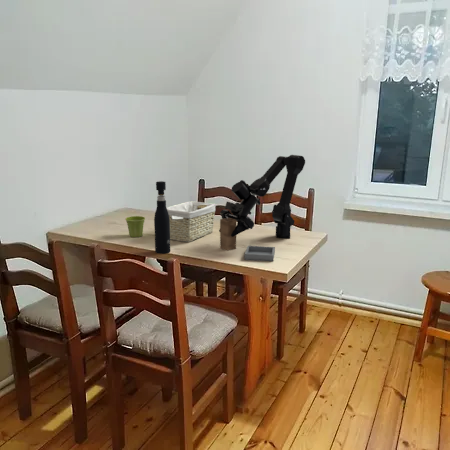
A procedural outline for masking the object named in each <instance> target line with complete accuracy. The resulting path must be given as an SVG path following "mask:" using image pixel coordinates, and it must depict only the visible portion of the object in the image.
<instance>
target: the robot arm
mask: <svg viewBox="0 0 450 450" xmlns="http://www.w3.org/2000/svg"><path fill="white" fill-rule="evenodd" d="M305 165H306V159H305V157H304V156H303V155H298V154H290V155H289V156H281V155H278V157H276V159H275V161H274V162H273V164H271V166H270V167H269V168H267V170H266V172H265V173H264V174H263V175H262V176H261V177H259V178H257V179H255V180H254V181H253V182H252V183H251V184H250V185H248V184H247V183H246V181H245V180H243V179H242V180H239V181H238V182H236V183H235V184H233V185H232V186H231V192H232V193H233V194H234V195H235V196H236V197H237V198H238V199H239V200H241V201H240V202H230V201H226V203H225V205H224V209H221V211H220V212H219V214H220V217H221V219H224V218H232V219H235V220H236V227H235V229H234V231H233V232H232V234H231V236H232V237H234V236H235V235H236V236H237V235H239V234H241V233H242V232H245V231H248V230H252V229H253V228H254V227H255V222H254V221H253V220H252V219H251V218H250V217H249V215H251V214H252V212H251V211H252V210H253V209H254V207H255V205H259V206H260V205H261V198H258V197H265V196H267V194H268V192H269V190H270V188H271V184H272V183H273V181H274V180H275V178H276V177H278V175H279V174H280V173H281V172H282V170H283V169H284V168H286V178H285V180H284V184H283V188H282V190H281V191H282V192H281V194H280V199H279V202H278V203H277V204H274V205H273V209H272V211H271V217H272V219H273V222H274V223H275V224H276V225H277V226H275V236H276V238H277V239H291V227H292V226H294V225H295V220H294V218H293V217H292V216H291V215H292V209H291V201H292V197H293V193H294V191H295V186H296V182H297V179H298V175H299V174H300V173H302V171H303V170H304V168H305ZM218 231H219V233H220V229H218Z"/></svg>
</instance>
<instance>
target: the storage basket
mask: <svg viewBox="0 0 450 450" xmlns="http://www.w3.org/2000/svg"><path fill="white" fill-rule="evenodd" d="M166 208H167V211H168V214H169V218H170V240H173V241H179V242H184V243H185V242H187V243H191V242H192V241H195V240H197V239H199V238H201V237H202V238H203V237H206V236H207V235H210V234H212V233H213V232H214V223H215V213H216V203H210V202H201V201H194V200H193V201H191V200H190V201H186V202H182V203H178V204H175V205H171V206H166Z"/></svg>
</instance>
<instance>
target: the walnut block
mask: <svg viewBox="0 0 450 450" xmlns="http://www.w3.org/2000/svg"><path fill="white" fill-rule="evenodd" d="M219 225H220V226H219V230H220V232H219V247H220V249H221V250H224V251H226V252H227V251H231V250H236V249H237V235H235V236H234V237H232V236H231V234H232V232H233V231H234V229H235V227H236V226H237V221H236V220H235V219H232V218H224V219H222V218H220V220H219Z"/></svg>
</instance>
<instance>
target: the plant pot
mask: <svg viewBox="0 0 450 450" xmlns="http://www.w3.org/2000/svg"><path fill="white" fill-rule="evenodd" d="M124 220H125V221H126V224H127V229H128V235H129V237H130V238H140V237H142V236H143V233H144V224H145V220H146V217H145V216H140V215H134V216H127V217H126V218H125V219H124Z"/></svg>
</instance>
